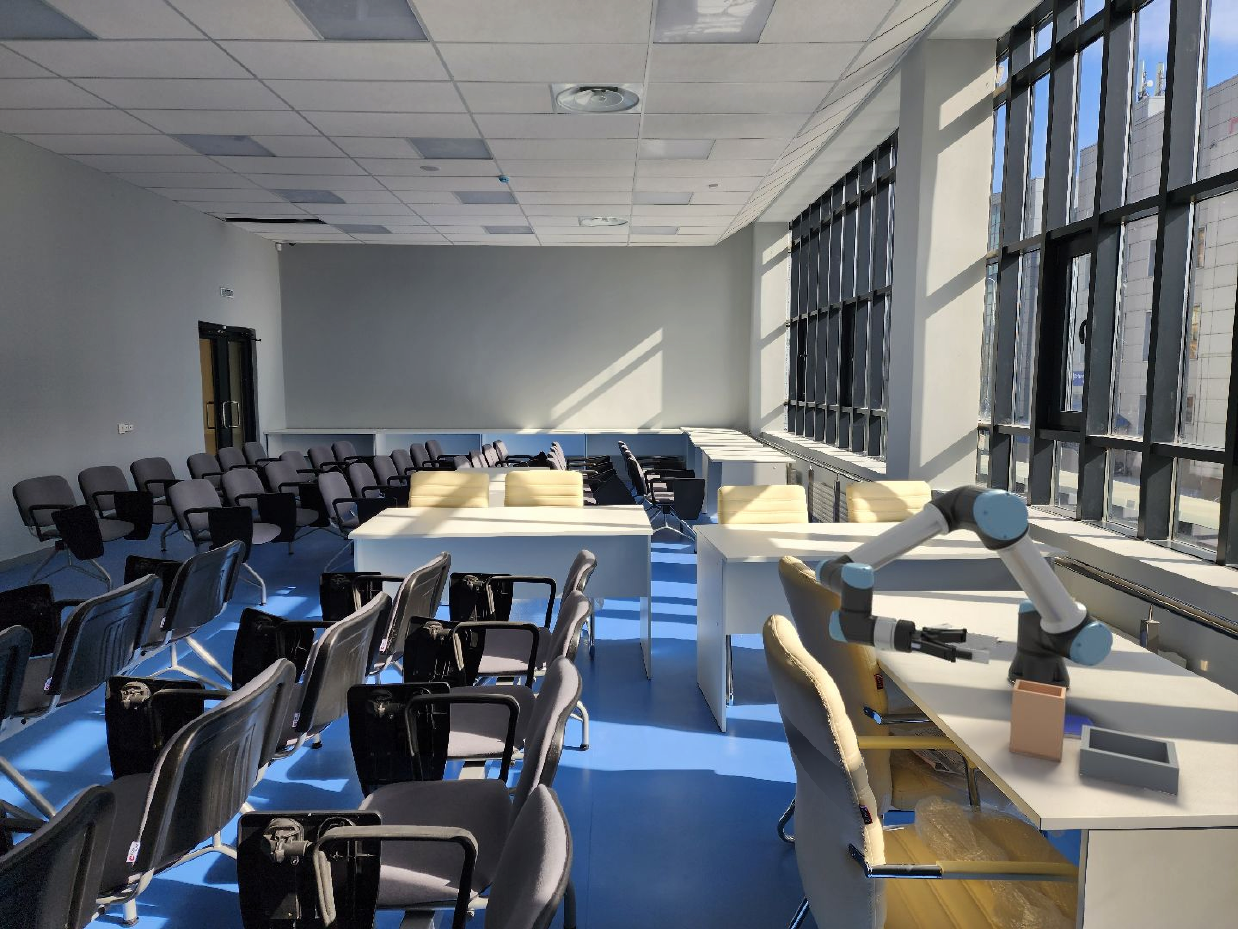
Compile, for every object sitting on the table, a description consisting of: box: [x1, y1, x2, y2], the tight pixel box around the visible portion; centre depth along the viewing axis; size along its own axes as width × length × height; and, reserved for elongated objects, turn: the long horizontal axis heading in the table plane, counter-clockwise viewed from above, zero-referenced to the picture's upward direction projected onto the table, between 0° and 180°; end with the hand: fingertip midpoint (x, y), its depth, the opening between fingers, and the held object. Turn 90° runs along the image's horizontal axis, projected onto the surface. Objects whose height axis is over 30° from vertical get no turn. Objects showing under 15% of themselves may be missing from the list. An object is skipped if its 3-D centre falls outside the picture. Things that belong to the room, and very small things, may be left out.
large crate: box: [1078, 725, 1180, 796], centre depth 172 cm, size 15×17×6 cm
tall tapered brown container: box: [1009, 679, 1067, 763], centre depth 181 cm, size 8×10×14 cm
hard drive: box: [1063, 714, 1096, 739], centre depth 194 cm, size 2×8×12 cm
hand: (993, 650), depth 185 cm, fingers open, 13 cm apart
